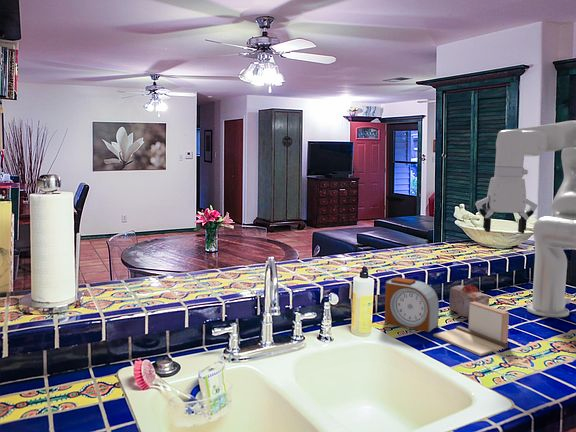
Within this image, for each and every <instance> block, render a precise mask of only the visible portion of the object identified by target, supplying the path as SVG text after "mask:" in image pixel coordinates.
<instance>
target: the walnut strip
mask: <svg viewBox="0 0 576 432" xmlns="http://www.w3.org/2000/svg"><path fill="white" fill-rule="evenodd" d="M455 329H459V330H461V331H464V332H466V333H469V334H472V335H474V336H477V337H479V338H482V339H484V340H487V341H490V342H492V343H495V344H497V345H500V346H502V347H504V349H503V350H506V348H507V349H508V346H509V344H508V343H507V344H506V343H504V342H501V341H498V340H496V339H493V338H490V337H488V336H485V335H483V334H480V333H477V332H475V331H472V330H469V329H468V328H466V327H464V326H462V325H457V326H456V327H455Z"/></svg>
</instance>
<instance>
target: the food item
mask: <svg viewBox="0 0 576 432" xmlns="http://www.w3.org/2000/svg"><path fill="white" fill-rule="evenodd" d="M474 301H475V302H478V303H481V304H484V305H487V306H490V304H489V303H490V296H489V295H487V294H485V293H482V292H479V289H478V287H476V285H470V284H467V285H455V286H451V287H450V289H449V302H448V303H449V306H448V308H449V311H453V312H455V313H457V315H458V316H459V317H464V318H466V319H467V318H468V319H469V303H470V302H474Z"/></svg>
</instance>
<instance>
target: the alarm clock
mask: <svg viewBox="0 0 576 432" xmlns="http://www.w3.org/2000/svg"><path fill="white" fill-rule="evenodd" d="M384 301H385V304H384V322H385V323H386V324H389V325H393V326H398V327H402V328H408V329H413V330H418V331H421V332H427V333H430V332H432V330H434V328H436V327H437V326H438V325H439V314H440V313H439V312H440V311H439V309H440V304H439V303H440V302H439V301H440V300H439V298H438V294H437V293H436V291H435V289H434V288H432V286H430V285H429V284H427V283H426V282H423V281H421V280H416V279H412V278H406V277H405V278H404V277H398V276H396V277H394V278H391V279H388V280H387V281H386V282H385V299H384Z"/></svg>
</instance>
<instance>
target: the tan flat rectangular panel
mask: <svg viewBox="0 0 576 432" xmlns="http://www.w3.org/2000/svg"><path fill="white" fill-rule="evenodd" d="M432 336H433V337H435V338H438V339H439V340H442V341H444V342H446V343H449V344H452V345H453V346H457V347H459V348H461V349H463V350H465V351H467V352H470V353H472V354H475V355H477V356H480V357H482V356H485V355H489V354H493V353H495V352H500V351H503V350H505V349H504V347H502V346H500V345H497V344H495V343H492V342H490V341H487V340H484V339H482V338H479V337H477V336H474V335H472V334H469V333H466V332H464V331H461V330H459V329H456V328H454V329H449V330H445V331H441V332H436V333H433V335H432ZM502 349H503V350H502ZM499 350H500V351H499ZM492 352H493V353H492Z"/></svg>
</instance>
